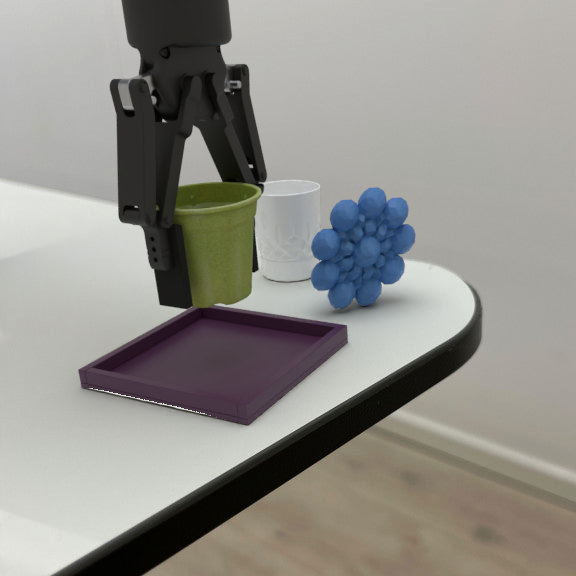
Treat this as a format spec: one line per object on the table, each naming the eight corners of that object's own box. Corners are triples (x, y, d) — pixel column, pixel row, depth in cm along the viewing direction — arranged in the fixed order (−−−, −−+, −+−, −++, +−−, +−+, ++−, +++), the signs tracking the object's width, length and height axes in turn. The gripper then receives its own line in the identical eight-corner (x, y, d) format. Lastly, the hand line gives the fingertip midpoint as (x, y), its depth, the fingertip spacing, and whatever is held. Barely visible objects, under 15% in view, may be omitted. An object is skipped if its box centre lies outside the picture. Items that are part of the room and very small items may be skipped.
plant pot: (225, 324, 59) (211, 213, 55) (134, 307, 63) (116, 202, 60) (292, 286, 66) (284, 186, 63) (207, 273, 71) (194, 178, 67)
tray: (81, 387, 64) (77, 369, 63) (201, 318, 77) (199, 302, 77) (248, 425, 57) (245, 405, 56) (348, 342, 70) (347, 325, 70)
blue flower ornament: (395, 283, 85) (393, 174, 80) (426, 302, 79) (426, 185, 74) (297, 303, 80) (289, 188, 75) (323, 324, 75) (315, 201, 70)
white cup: (305, 287, 85) (298, 197, 80) (244, 279, 88) (235, 192, 84) (336, 266, 91) (332, 181, 87) (279, 259, 94) (272, 178, 90)
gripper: (108, -16, 44) (164, 340, 54) (295, -15, 62) (313, 254, 71) (15, -10, 47) (84, 326, 57) (219, -11, 65) (246, 247, 74)
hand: (211, 286), depth 64 cm, fingers closed on plant pot, 9 cm apart
